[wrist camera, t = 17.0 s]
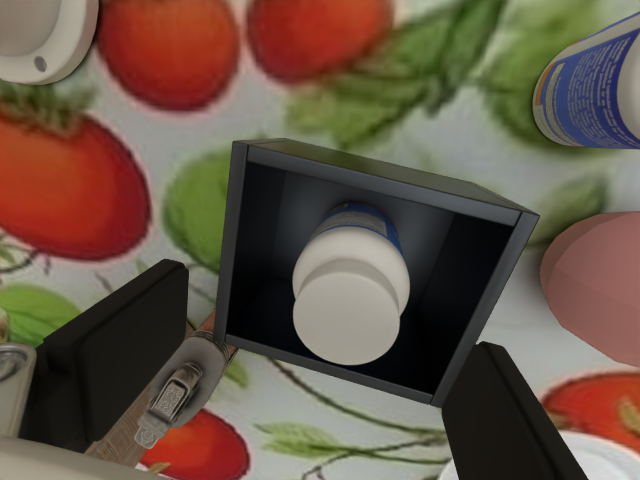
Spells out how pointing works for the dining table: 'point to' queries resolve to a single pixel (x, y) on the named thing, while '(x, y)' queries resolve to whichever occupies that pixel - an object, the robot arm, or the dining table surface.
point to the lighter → (184, 383)
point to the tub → (417, 246)
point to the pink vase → (598, 283)
